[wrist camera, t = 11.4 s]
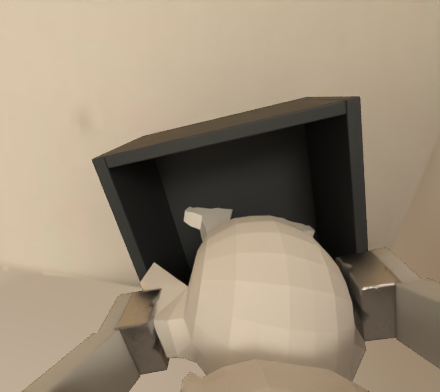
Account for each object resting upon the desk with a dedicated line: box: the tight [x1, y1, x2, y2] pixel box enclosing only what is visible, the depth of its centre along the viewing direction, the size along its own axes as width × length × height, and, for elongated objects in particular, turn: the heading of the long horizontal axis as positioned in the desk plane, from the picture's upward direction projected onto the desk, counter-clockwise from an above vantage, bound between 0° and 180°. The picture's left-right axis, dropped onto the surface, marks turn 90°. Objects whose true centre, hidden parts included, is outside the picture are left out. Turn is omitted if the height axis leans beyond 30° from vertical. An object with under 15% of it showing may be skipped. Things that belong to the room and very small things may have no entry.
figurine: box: [140, 207, 369, 392], centre depth 8 cm, size 8×5×12 cm, turn 81°
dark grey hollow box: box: [92, 97, 368, 286], centre depth 14 cm, size 10×10×6 cm
